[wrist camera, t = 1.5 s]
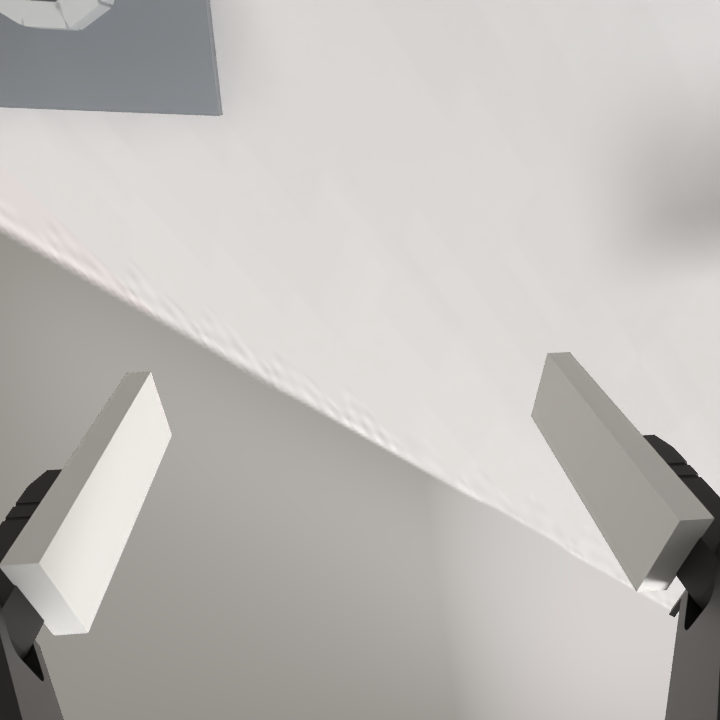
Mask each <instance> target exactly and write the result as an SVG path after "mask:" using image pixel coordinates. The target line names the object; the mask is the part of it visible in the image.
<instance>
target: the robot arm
mask: <svg viewBox="0 0 720 720" xmlns="http://www.w3.org/2000/svg"><path fill="white" fill-rule="evenodd" d="M531 417H532V418H533V420H534V422H535V423H536V425H537V427H538V428H539V430H540V432H541V433H542V435H543V437H544V438H545V440H546V442H547V443H548V445H549V447H550V448H551V450H552V452H553V453H554V455H555V457H556V458H557V460H558V462H559V463H560V465H561V467H562V468H563V470H564V472H565V473H566V475H567V477H568V478H569V480H570V482H571V483H572V485H573V487H574V488H575V490H576V492H577V493H578V495H579V497H580V498H581V500H582V502H583V503H584V505H585V507H586V508H587V510H588V512H589V513H590V515H591V517H592V518H593V520H594V522H595V523H596V525H597V527H598V528H599V530H600V532H601V533H602V535H603V537H604V538H605V540H606V542H607V543H608V545H609V547H610V548H611V550H612V552H613V553H614V555H615V557H616V558H617V560H618V562H619V563H620V565H621V567H622V568H623V570H624V572H625V573H626V575H627V577H628V578H629V580H630V582H631V583H632V585H633V587H634V588H635V590H636V592H644V591H657V590H667V589H668V587H669V586H670V584H671V583H672V581H673V580H674V578H675V577H676V575H677V577H678V578H679V580H680V581H681V583H682V584H683V586H684V587H685V588H686V590H685V591H684V592H683V594H682V595H681V597H680V598H679V599H678V601H677V602H676V604H675V605H674V606H673V608H672V610H671V612H670V614H669V615H671V616H673V617H675V616H676V614H677V613H678V612H679V619H678V626H677V633H676V641H675V649H674V656H673V664H672V672H671V679H670V687H669V694H668V702H667V709H666V717H665V720H720V497H719V496H718V495H717V494H716V493H715V492H714V491H713V490H712V488H711V487H710V486H709V485H708V484H707V483H706V482H705V481H704V480H703V479H702V478H701V477H698V473H697V472H696V471H695V470H694V469H693V468H692V467H691V466H690V465H687V462H686V460H685V459H684V458H683V457H682V456H681V455H680V454H679V453H678V452H677V451H676V450H675V449H674V448H673V447H672V446H670V445H669V444H667V443H666V442H664V441H663V440H661V439H660V438H658V437H657V436H655V435H644V436H642V435H641V433H640V432H639V431H638V430H637V429H636V428H635V427H634V425H633V424H632V423H631V422H630V421H629V420H628V419H627V417H626V416H625V415H624V414H623V413H622V412H621V411H620V409H619V408H618V407H617V406H616V405H615V404H614V403H613V401H612V400H611V399H610V398H609V397H608V396H607V395H606V393H605V392H604V391H603V390H602V389H601V388H600V387H599V385H598V384H597V383H596V382H595V381H594V380H593V378H592V377H591V376H590V375H589V374H588V373H587V372H586V370H585V369H584V368H583V367H582V366H581V365H580V364H579V362H578V361H577V360H576V359H575V358H574V357H573V356H572V354H571V353H570V352H566V353H547V357H546V361H545V365H544V369H543V372H542V376H541V380H540V384H539V388H538V392H537V395H536V399H535V403H534V407H533V411H532V415H531ZM171 436H172V434H171V431H170V429H169V425H168V422H167V419H166V417H165V413H164V411H163V408H162V404H161V402H160V398H159V395H158V392H157V389H156V386H155V384H154V381H153V377H152V374H151V372H138V373H126V375H125V376H124V378H123V379H122V380H121V382H120V384H119V385H118V387H117V388H116V390H115V391H114V393H113V394H112V396H111V397H110V399H109V400H108V402H107V403H106V405H105V406H104V408H103V409H102V411H101V412H100V414H99V415H98V417H97V418H96V420H95V422H94V423H93V424H92V426H91V427H90V429H89V430H88V432H87V433H86V435H85V437H84V438H83V439H82V441H81V442H80V444H79V445H78V447H77V448H76V450H75V451H74V453H73V454H72V456H71V457H70V459H69V460H68V462H67V463H66V465H65V467H64V468H63V469H62V470H47V471H46V472H45V473H43V474H42V475H41V476H40V477H39V478H37V479H36V480H35V481H34V482H33V483H31V484H30V485H29V486H28V487H27V488H26V490H25V491H24V493H23V494H22V495H21V497H20V498H19V500H18V501H17V502H16V506H15V507H13V508H12V509H11V511H10V512H9V514H8V515H7V516H6V520H5V521H3V522H2V523H1V525H0V720H64V719H63V716H62V713H61V710H60V707H59V704H58V701H57V698H56V695H55V692H54V688H53V686H52V683H51V679H50V676H49V673H48V670H47V667H46V664H45V661H44V658H43V655H42V651H41V648H40V646H39V645H38V643H37V642H36V641H35V638H36V636H37V635H38V633H39V631H40V629H41V627H42V625H43V623H45V625H46V626H47V627H48V628H49V630H50V631H51V632H52V633H53V635H63V634H77V633H88V632H89V629H90V627H91V625H92V622H93V620H94V617H95V615H96V613H97V610H98V608H99V606H100V603H101V601H102V599H103V596H104V594H105V592H106V589H107V587H108V584H109V582H110V580H111V577H112V575H113V573H114V570H115V568H116V566H117V563H118V561H119V558H120V556H121V554H122V551H123V549H124V547H125V544H126V542H127V540H128V537H129V535H130V532H131V530H132V528H133V525H134V523H135V521H136V518H137V516H138V514H139V511H140V509H141V507H142V504H143V502H144V499H145V497H146V495H147V492H148V490H149V488H150V485H151V483H152V481H153V478H154V476H155V474H156V471H157V469H158V467H159V464H160V462H161V459H162V457H163V455H164V452H165V450H166V448H167V445H168V443H169V441H170V438H171Z"/></svg>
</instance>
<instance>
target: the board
mask: <svg viewBox="0 0 720 720" xmlns="http://www.w3.org/2000/svg"><path fill="white" fill-rule="evenodd" d="M0 107H8V108H33V109H58V110H83V111H108V112H133V113H159V114H184V115H209V116H220V115H222V107H221V98H220V89H219V80H218V71H217V62H216V53H215V44H214V36H213V27H212V18H211V9H210V0H0Z"/></svg>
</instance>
